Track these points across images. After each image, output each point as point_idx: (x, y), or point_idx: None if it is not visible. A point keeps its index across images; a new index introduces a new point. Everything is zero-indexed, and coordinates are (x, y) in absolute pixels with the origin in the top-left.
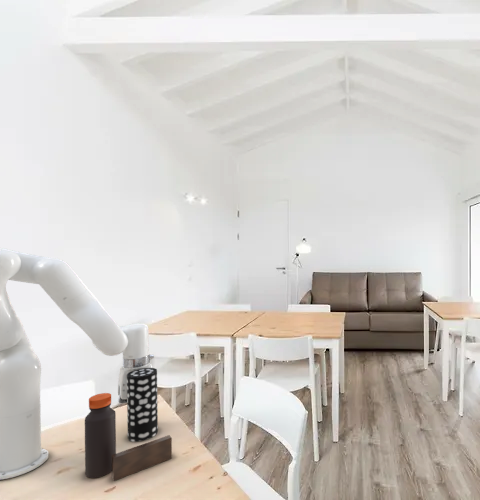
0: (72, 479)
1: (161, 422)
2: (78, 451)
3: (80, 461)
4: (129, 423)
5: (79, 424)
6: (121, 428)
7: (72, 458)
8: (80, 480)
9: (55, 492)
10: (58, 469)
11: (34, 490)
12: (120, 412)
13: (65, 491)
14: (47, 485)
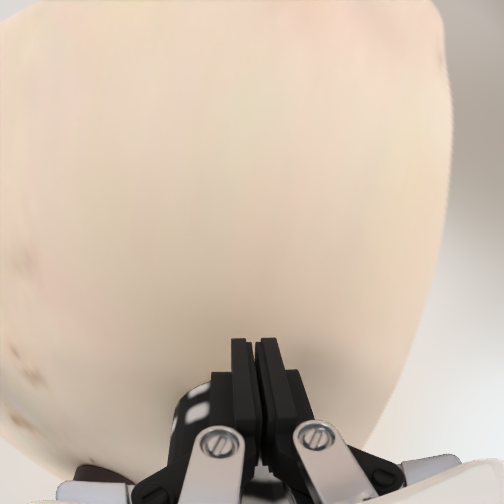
0: (56, 462)
1: (353, 363)
2: (13, 362)
3: (42, 421)
4: None
5: (6, 58)
6: (154, 290)
7: (14, 389)
8: (74, 474)
9: (43, 467)
10: (7, 409)
11: (3, 435)
12: (212, 6)
13: (59, 476)
14: (17, 441)
